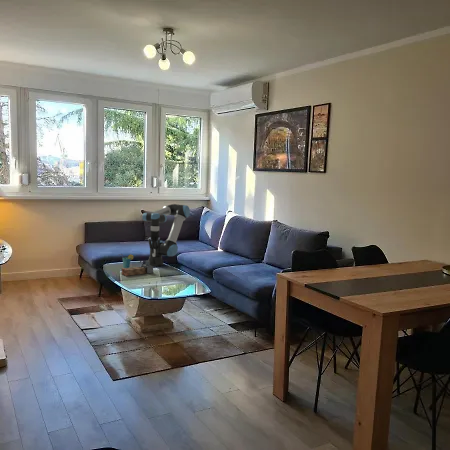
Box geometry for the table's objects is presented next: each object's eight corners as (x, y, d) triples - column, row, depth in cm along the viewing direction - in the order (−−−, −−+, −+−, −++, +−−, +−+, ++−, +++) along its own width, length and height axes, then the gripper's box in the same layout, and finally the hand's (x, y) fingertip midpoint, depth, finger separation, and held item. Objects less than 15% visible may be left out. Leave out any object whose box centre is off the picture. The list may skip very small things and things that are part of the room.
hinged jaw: (142, 272, 390) (142, 267, 389) (144, 273, 387) (144, 268, 387) (123, 275, 379) (124, 269, 378) (125, 275, 376) (125, 270, 376)
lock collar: (147, 270, 399) (147, 259, 398) (153, 272, 391) (153, 262, 390) (141, 270, 396) (141, 260, 394) (147, 273, 388) (147, 262, 386)
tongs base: (146, 271, 397) (146, 265, 396) (149, 272, 393) (149, 267, 392) (121, 274, 382) (121, 268, 382) (124, 275, 378) (124, 269, 377)
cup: (118, 271, 392) (118, 254, 390) (116, 269, 399) (117, 252, 397) (134, 270, 398) (134, 254, 396) (131, 268, 405) (132, 252, 403)
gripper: (159, 229, 399) (158, 255, 402) (146, 230, 391) (145, 256, 394) (163, 230, 393) (162, 256, 397) (150, 231, 385) (149, 257, 388)
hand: (153, 256), depth 395 cm, fingers closed
